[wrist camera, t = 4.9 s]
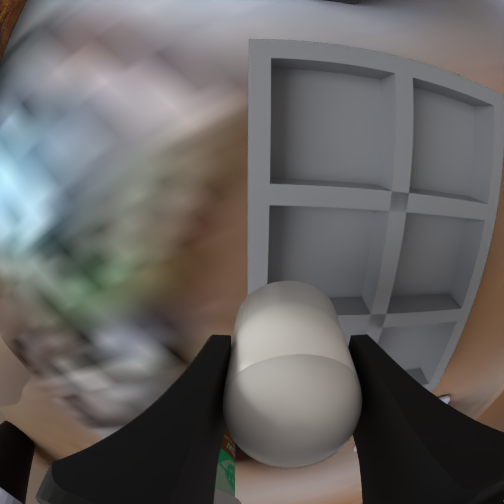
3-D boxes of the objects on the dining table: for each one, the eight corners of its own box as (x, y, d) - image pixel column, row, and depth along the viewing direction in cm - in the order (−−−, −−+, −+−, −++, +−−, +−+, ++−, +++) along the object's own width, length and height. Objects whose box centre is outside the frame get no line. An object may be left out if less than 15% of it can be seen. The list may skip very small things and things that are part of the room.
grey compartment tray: (475, 96, 13) (503, 94, 10) (421, 367, 21) (434, 390, 18) (251, 56, 13) (248, 39, 11) (250, 376, 21) (248, 405, 19)
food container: (261, 456, 27) (257, 532, 17) (210, 459, 27) (198, 530, 18) (222, 392, 22) (204, 497, 13) (159, 397, 23) (128, 488, 14)
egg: (342, 280, 10) (399, 408, 5) (328, 361, 12) (353, 481, 6) (233, 279, 11) (203, 415, 5) (237, 361, 12) (220, 485, 6)
